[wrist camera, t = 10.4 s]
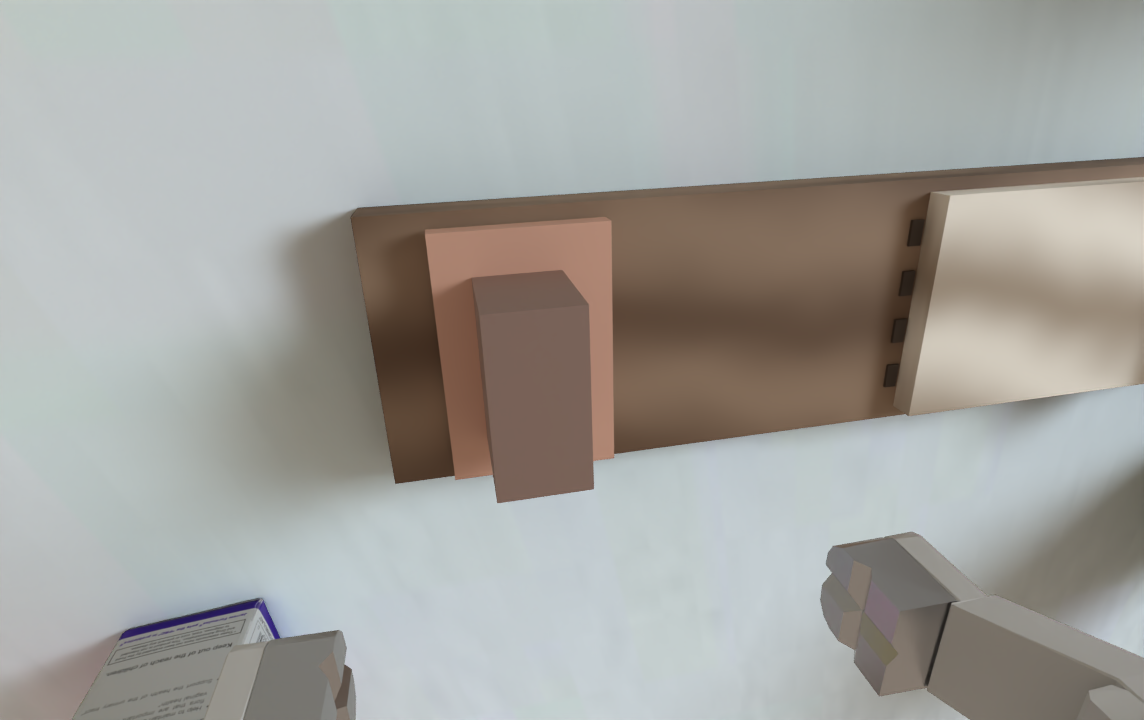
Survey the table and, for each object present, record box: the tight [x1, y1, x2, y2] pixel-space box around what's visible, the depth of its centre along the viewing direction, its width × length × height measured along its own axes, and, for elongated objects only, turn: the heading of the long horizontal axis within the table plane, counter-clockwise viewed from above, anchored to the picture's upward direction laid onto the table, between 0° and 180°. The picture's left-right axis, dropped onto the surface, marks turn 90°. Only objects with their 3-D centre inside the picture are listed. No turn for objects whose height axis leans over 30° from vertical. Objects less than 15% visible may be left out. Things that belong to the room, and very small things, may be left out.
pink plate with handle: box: [425, 217, 614, 503], centre depth 20 cm, size 9×6×5 cm, turn 2°
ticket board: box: [351, 157, 1144, 484], centre depth 25 cm, size 10×38×5 cm, turn 92°
